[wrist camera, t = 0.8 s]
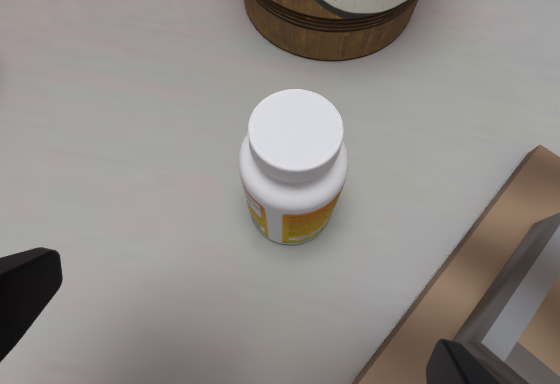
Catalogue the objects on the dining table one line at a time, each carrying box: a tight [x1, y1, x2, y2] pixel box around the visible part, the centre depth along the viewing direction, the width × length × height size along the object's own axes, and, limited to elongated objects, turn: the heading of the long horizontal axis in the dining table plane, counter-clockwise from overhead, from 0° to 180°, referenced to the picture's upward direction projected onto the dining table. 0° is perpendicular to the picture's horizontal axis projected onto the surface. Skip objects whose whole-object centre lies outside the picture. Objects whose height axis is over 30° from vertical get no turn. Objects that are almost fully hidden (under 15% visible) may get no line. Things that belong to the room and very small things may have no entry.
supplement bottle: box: [239, 89, 348, 245], centre depth 19 cm, size 5×5×10 cm
